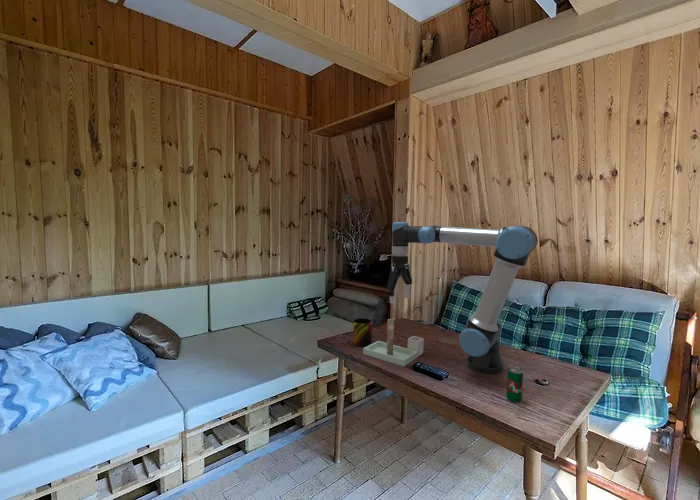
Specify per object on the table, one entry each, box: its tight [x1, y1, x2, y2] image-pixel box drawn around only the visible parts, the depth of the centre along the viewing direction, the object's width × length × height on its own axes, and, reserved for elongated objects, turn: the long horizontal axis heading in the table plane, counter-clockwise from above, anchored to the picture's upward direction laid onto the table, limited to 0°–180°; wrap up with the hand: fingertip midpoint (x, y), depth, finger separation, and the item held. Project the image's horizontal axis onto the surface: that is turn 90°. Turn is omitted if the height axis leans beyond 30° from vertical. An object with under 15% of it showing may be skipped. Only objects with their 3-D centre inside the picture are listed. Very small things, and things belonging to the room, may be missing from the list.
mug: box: [352, 318, 373, 348], centre depth 180 cm, size 10×14×12 cm
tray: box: [362, 340, 419, 367], centre depth 161 cm, size 22×13×4 cm, turn 52°
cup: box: [406, 335, 425, 357], centre depth 164 cm, size 6×6×8 cm
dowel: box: [386, 318, 395, 356], centre depth 160 cm, size 3×3×17 cm
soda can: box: [505, 365, 524, 403], centre depth 124 cm, size 5×5×12 cm
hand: (399, 300), depth 160 cm, fingers open, 13 cm apart
